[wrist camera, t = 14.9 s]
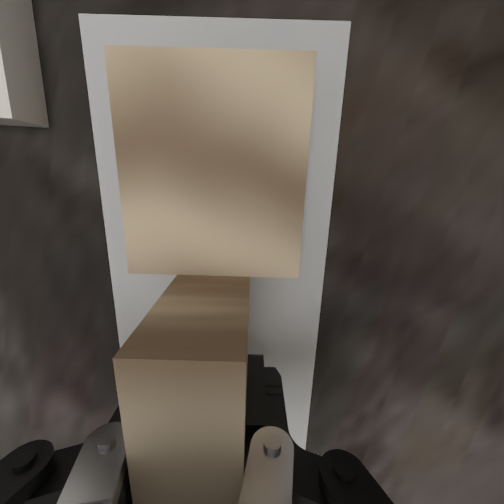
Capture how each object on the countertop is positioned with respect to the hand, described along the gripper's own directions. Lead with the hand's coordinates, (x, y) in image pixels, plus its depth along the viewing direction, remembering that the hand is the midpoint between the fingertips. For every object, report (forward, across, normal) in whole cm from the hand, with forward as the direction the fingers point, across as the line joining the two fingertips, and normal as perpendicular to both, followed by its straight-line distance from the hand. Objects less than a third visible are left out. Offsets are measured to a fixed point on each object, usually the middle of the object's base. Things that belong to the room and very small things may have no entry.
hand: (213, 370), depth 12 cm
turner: (+1, 0, -2) cm, 3 cm away
